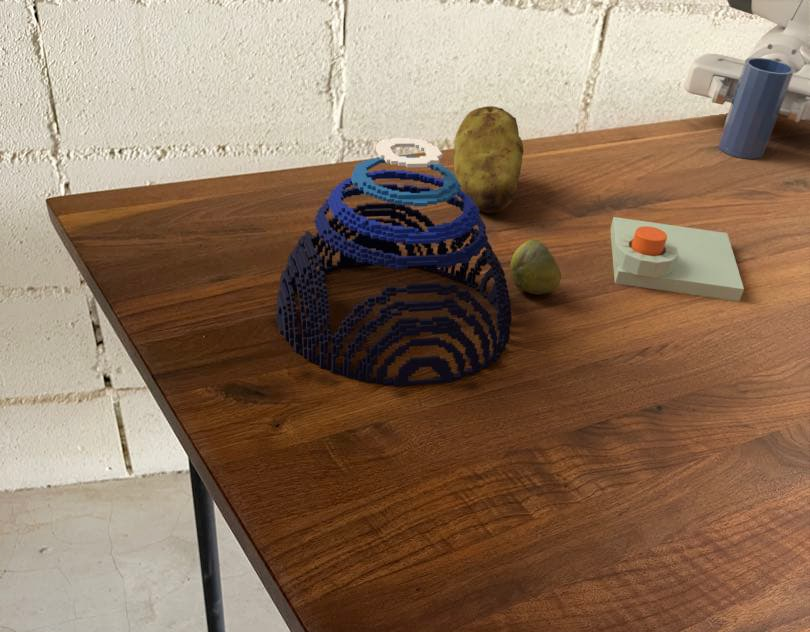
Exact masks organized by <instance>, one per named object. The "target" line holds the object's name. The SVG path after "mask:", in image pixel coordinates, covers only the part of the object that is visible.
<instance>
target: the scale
mask: <svg viewBox="0 0 810 632" xmlns="http://www.w3.org/2000/svg"><path fill="white" fill-rule="evenodd" d="M643 226H649V227H655V228H658V229H660V230H662V231H664V232H665V233H666V234H667V239H666V243H665V246H664V249H663V252H662V254H661V255H659V256H648V255H643V254H640V253H638V252H635V251H634V250H633V249H632V248H631V245H632V242H633V238H634V235H635V231H636V229H637V228H639V227H643ZM609 230H610V243H611V255H612V267H613V277H614V284H616V285H622V286H630V287H638V288H644V289H651V290H658V291H664V292H671V293H679V294H684V295H685V294H686V295H693V296H699V297H705V298H706V297H707V298H714V299H719V300H720V299H721V300H725V301H733V302H741V298H742V295H743V293H744V290H745V288H744V287H745V286H744V284H743V280H742V277H741V274H740V271H739V267H738V264H737V260H736V257H735V255H734V250H733V247H732V244H731V240H730V237H729V233H727V232H724V231H723V232H722V231H715V230H709V229H708V230H707V229H700V228H696V227H695V228H694V227H688V226H681V225H673V224H667V223H659V222H653V221H646V220H639V219H631V218H625V217H617V216H613V217H612V221H611V225H610V229H609Z"/></svg>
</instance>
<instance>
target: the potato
mask: <svg viewBox="0 0 810 632" xmlns="http://www.w3.org/2000/svg"><path fill="white" fill-rule="evenodd" d="M523 155H524V144H523V140H522V138H521V137H520V132H519V125H518V122H517V118H516V117H514V115H512V114H511V113H510V112H508V111H507V110H505V109H503V108H501V107H498V106H494V105H489V106H488V105H487V106H482V107H478V108H475V109H472V110H471V111H470V112H469V113H468V114H467V115H465V117H464V118H463V120H462V121H461V123H460V125H459V126H458V129H457V131H456V134H455V137H454V145H453V169H454V172H453V174H454V176H455V177H456V179H457V180H458V182H459V183H460V185H461V187H460V189H461V190H462V191H463V192H464V193H465V195H469V196H470V198H471V199H472V201H473V202H474V204H475V205H476V207H477V208H478V209H479V212H481V213H485V214H487V215H490V214H494V213H499V212H501V211H504V210H505V209H506V208H507V207H508V206H509V205H510V204H511V203H512V201H514V198H515V196H516V193H517V192H516V191H517V188H518V186H519V182H520V180H519V179H520V175H521V170H522V165H523Z"/></svg>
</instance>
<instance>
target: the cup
mask: <svg viewBox="0 0 810 632" xmlns="http://www.w3.org/2000/svg"><path fill="white" fill-rule="evenodd" d="M745 60H746V59H745ZM794 72H795V70H794V69H793V67H791V66H789V65H788V64H785V63H783V62H780V61H776V60H772V59H766V58H750V59H747V60H746V61H745V64H744V67H743V70H742V73H741V76H740V79H739V82H738V85H737V88H736V91H735V94H734V97H733V100H732V103H730V106H729V109H728V112H727V115H726V118H725V122H724V124H723V127H722V130H721V134H720V137H719V140H718V144H717V147H718V149H719V150H720V151H721V152H723V153H724V154H727V155H729V156H732V157H734V158H739V159H744V160H745V159H746V160H747V159H748V160H756V159H760V158H762V157H764V154H765V152H766V150H767V148H768V144H769V142H770V140H771V136H772V134H773V131H774V128H775V126H776V123H777V121H778V118H779V112H780V110H781V107H782V104H783V101H784V99H785V96H786V93H787V91H788V88H789V85H790V82H791V80H792V77H793V74H794Z"/></svg>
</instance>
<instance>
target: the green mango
mask: <svg viewBox="0 0 810 632" xmlns="http://www.w3.org/2000/svg"><path fill="white" fill-rule="evenodd" d="M509 264H510V265H509V269H510V277H511V279H512V282H513V284H514V285H515V286H516V287H517V288H518V289H519V290H521V291H523V292H526V293H529V294H531V295H535V296H537V295H538V296H539V295H547V294H549V293H552V292H553V291H554V290H556V289H557V288H558V287H559V286H560V283H561V279H562V272H561V270H560V267H559V265H558V262H557V260H556V259H555V256H554V255H553V254H552V253H551V251H550V250H549V248H548V247H547V246H546V245H545V244H544V243H543V242H542V241H539V240H537V239H529V240H527V241H525V242H524V243H522V244H521V245H520V246H519V247H518V248H517V249H516V250H515V252H514V253H513V255H512V257H511V261H510V263H509Z"/></svg>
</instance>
